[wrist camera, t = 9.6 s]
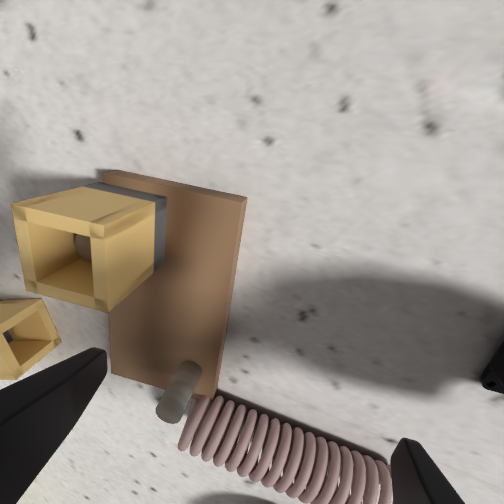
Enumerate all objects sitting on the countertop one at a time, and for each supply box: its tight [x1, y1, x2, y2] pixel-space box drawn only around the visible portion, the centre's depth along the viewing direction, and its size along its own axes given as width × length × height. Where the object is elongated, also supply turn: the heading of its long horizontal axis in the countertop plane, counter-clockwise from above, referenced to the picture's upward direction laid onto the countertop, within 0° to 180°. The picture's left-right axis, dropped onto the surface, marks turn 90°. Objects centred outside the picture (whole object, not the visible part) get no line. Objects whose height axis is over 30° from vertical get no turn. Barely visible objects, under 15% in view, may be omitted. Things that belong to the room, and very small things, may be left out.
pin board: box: [75, 170, 247, 424], centre depth 20 cm, size 9×17×6 cm, turn 171°
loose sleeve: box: [11, 182, 167, 313], centre depth 17 cm, size 5×5×6 cm
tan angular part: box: [0, 299, 61, 380], centre depth 25 cm, size 5×5×6 cm
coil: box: [178, 396, 394, 504], centre depth 24 cm, size 5×5×18 cm
